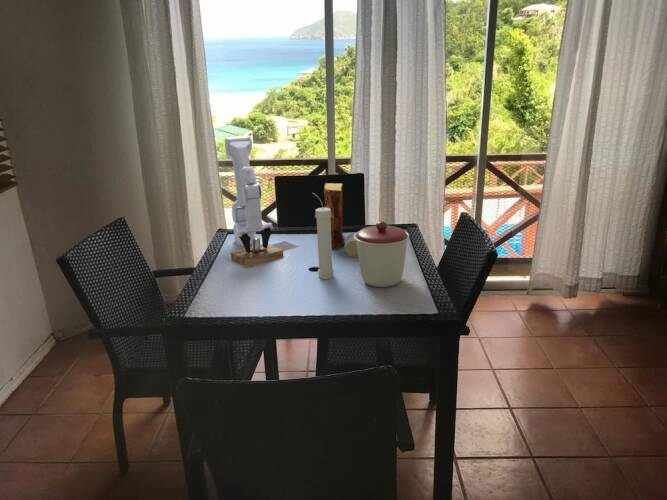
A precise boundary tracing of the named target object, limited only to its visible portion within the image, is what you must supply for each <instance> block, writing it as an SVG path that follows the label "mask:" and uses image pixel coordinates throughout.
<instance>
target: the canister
mask: <svg viewBox="0 0 667 500" xmlns="http://www.w3.org/2000/svg"><path fill="white" fill-rule="evenodd" d="M354 233H355V235H354V238H355V240H356V242H357V250H358V257H357V258H358V262H359V269H360V276H361V278H362V280H363V282H364V283H365V284H367V285H369V286H371V287H376V288H389V287H393V286H395V285H397V284H399V283H400V282H401V281H402V278H403V275H404V267H405V262H406V253H407V246H408V245H407V244H408V240H409V238H410V233H409V232H408V231H406V230H404V229H402V228H401V227H397V226H395V225H393V226H392V225H388V224H387V223H386V222H385V221H384V220H383V221H382V220H381V221H378V222H377V223H376V224H375V225H372V226H367V227H364V228H361V229H359V231H357V232H354Z"/></svg>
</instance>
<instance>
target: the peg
mask: <svg viewBox="0 0 667 500" xmlns="http://www.w3.org/2000/svg"><path fill="white" fill-rule="evenodd" d="M260 244H261V238H260V237H256V238H252V245H251V247H253V253H254V254H256V253H260V252H261V248H260Z"/></svg>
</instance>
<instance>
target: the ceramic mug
mask: <svg viewBox="0 0 667 500" xmlns="http://www.w3.org/2000/svg"><path fill="white" fill-rule="evenodd" d="M355 233H356V232H354V233H353V232H352V233H350V234H348V235H347V236H346V238H345V240H344V241H345V245H344V252H345V254H346V255H347V256H349V257H351V258H354V259H355V258H359V257H358V250H357V242H356V240H355V238H354V235H355Z"/></svg>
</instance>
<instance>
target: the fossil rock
mask: <svg viewBox="0 0 667 500" xmlns="http://www.w3.org/2000/svg"><path fill="white" fill-rule="evenodd" d="M323 194H324V195H323V196H324V208H330V209H331V214H332V217H331V218H330V220H331V244H332V250H337V249H339V248H342V247H345V241H346V240H345V237H344V232H343V204H344V200H343V183H333V182H331V183H328V182H325V183H324V189H323Z"/></svg>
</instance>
